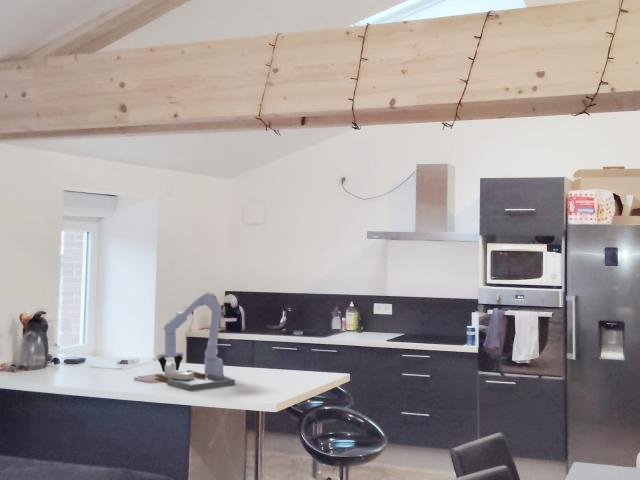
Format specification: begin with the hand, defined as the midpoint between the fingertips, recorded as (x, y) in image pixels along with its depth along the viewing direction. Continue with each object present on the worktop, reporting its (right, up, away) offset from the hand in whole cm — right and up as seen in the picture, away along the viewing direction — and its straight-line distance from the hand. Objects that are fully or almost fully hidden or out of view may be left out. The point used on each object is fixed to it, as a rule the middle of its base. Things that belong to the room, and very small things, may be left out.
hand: (170, 371), depth 402 cm
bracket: (+6, -3, -8) cm, 10 cm away
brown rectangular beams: (+7, -3, -8) cm, 11 cm away
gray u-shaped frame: (+20, -3, -23) cm, 30 cm away
